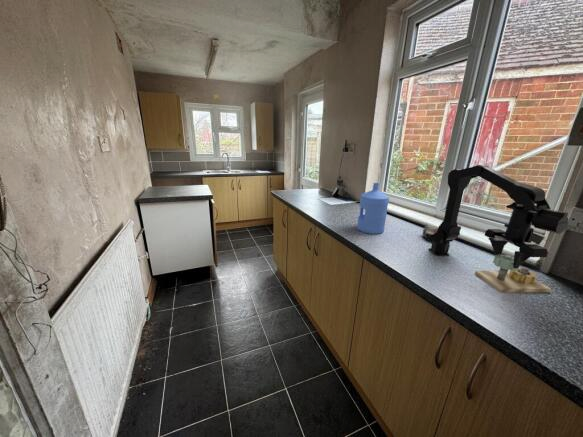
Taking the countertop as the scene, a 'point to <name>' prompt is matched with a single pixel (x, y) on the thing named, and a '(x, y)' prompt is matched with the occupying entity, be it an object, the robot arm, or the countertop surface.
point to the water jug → (373, 211)
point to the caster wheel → (429, 232)
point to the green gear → (504, 262)
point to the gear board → (510, 281)
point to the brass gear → (523, 277)
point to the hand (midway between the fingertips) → (505, 262)
